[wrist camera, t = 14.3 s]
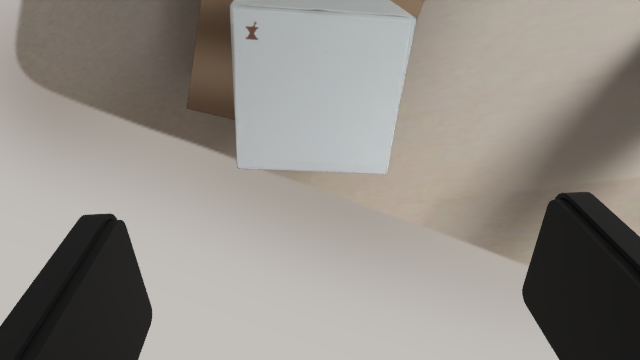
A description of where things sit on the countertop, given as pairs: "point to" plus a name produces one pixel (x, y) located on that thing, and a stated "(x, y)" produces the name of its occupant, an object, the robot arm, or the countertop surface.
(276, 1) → the supplement box
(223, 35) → the walnut block
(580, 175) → the countertop surface
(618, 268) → the robot arm
